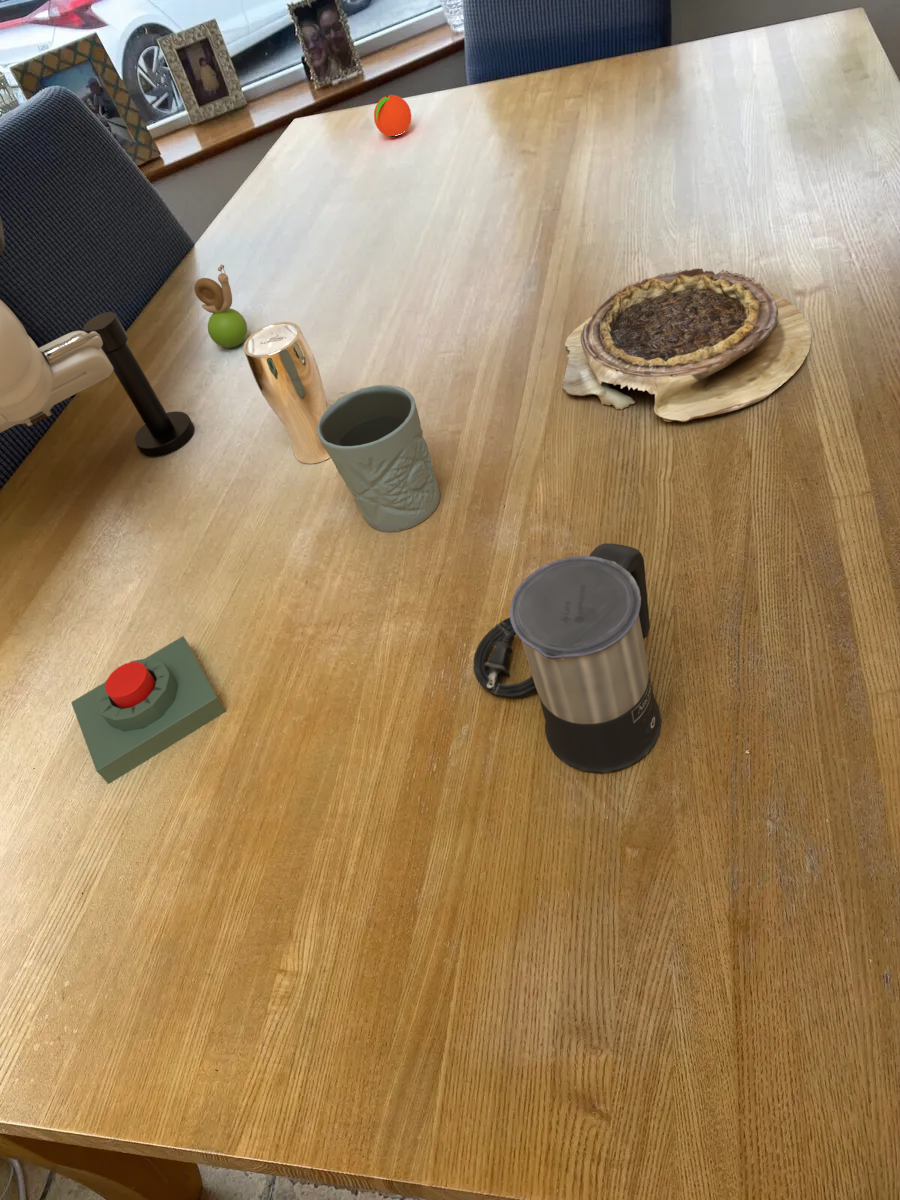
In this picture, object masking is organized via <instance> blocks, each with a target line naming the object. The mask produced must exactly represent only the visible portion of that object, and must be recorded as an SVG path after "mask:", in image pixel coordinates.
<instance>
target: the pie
mask: <svg viewBox="0 0 900 1200" xmlns="http://www.w3.org/2000/svg"><path fill="white" fill-rule="evenodd" d="M755 278H756V277H750V276H749V277H747V276H746V275H745V274H742V273H739V272H734V273H732V272H730V271H728V270H724V269H721V271H719V272H718V273H715V271H713V270H703V268H692V269H689V270H688V269H685V270H682V269H680V270H678V271H672V272H665V273H660V274H658V275H656V276H653V277H650V278H645V279H643V280H641V281H640V282H639V281H638V280H637V281H636V282H632V283H629V284H628V285H625V286H623V287H621V288H619V289H618V290H616V291H615V292H613V293H611V294H610V295H608V296H607V297H606V298H605V299H604V300H603V301H602V302H601V303H600V305H598V307H597V308H596V309H595V312H594V313H593V314H592V316H590V317H588V318H587V319H586V320H585V321H584V322H582V323H581V324H580V325H579V326H578V327H576V328H575V329H574V330H573V331H572V332H571V333H569V335H568V336H567V338H566V340H565V342H564V346H565V347H567V350H568V351H569V352H568V354H567V355H566V356H567V358H568V360H567V363H566V366H565V374H564V376H563V379H562V384H561V385H562V388H563V389H564V391H565V392H566V394H569V395H572V396H580V397H585V396H590V395H591V396H592V395H596V396H597V397H598V398H599V400H600V403H601V404H600V405H602V406H604V405H605V406H613V407H614V408H615V410H623V409H625V408H628V407H630V405H634V404H636V401H635V400H634V399H633V397H631V396H629V395H627V394H624V393H622V392H621V391H619V390H618V389H615V388H613V387H610V385H611V384H612V385H613V386H616V385H620V389H623V388H625V387H627V388H628V390H630V389H631V388H632V390H633V391H635V390H636V389H637V391H642V392H643V393H644V392H645V391H647V393H648V394H650V395H654V405H653V411H654V414H655V415H656V416H658V417H659V418H661V419H662V420H663V421H664V422H669V423H670V422H675V421H676V422H680V423H687V422H689V421H691V420H695V419H702V418H707V417H713V416H718V415H723V414H726V413H730V412H735V411H737V410H740V409H744V408H746V407H749V406H752V405H754V404H756V403H758V402H760V401H762V400H764V399H766V398H767V397H768V396H769V395H771V394H772V393H773V392H775V391H776V390H777V389H779V387H781V386H782V385H783V384H784V383H786V382H787V381H788V380H789V379H790V378H791V377H792V376H794V375H795V374H796V372H797V371H798V370H799V369H800V368H801V366H802V365H803V363H804V362H805V359H806V358H807V356H808V354H809V352H810V349H811V345H812V344H811V343H812V333H811V328H810V326H809V322H808V320H807V319H806V317H805V316H804V314H803V313H802V312H801V311H800V309H799V308H798V307H797V306H796V305H794V304H793V303H792V302H791V301H790V300H788V299H786V298H784V297H783V296H780V295H778V294H776V293H773V292H771V290H770V289H769V288H768V287H767V286H765V285H764V284H762V283H761V282H760V281H759V282H756V280H755ZM755 282H756V283H755ZM609 384H610V385H609Z"/></svg>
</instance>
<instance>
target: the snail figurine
mask: <svg viewBox="0 0 900 1200" xmlns="http://www.w3.org/2000/svg"><path fill="white" fill-rule="evenodd" d="M222 270H223V272H224V273H223V272H222ZM217 271H219V272H220V273H219V274H218V275H217V280H218V282H219V283H218V282H217V281H215V280H214V279H212V278H209V277H201V278H199V279H197V280H196V282H195V284H194V287H193V288H194V293H195V296H196V297H197V299H198V300H199V301H200V302H201V303H203V304H201V308H203V309H204V311H206V312H208V313H210V314H211V315H210V317H209V318H208V322H207V331H208V335H209V337H210V339H211V340H212V341H213V342H214V343H215V344H216V345H218V346H220V347H222V348H226V349H232V348H235V347H238V346H240V345H241V344H242V343H244V342H245V339H246V337H247V335H248V325H247V322H246V319H245V318H244V316H243V315H242V314H241V313H240V312H239V311H237V310H236V309H234V308H231V307H232V305H233V294H232V288H231V284H230V282H229V277H228V274H226V271H225V265H224V264H221V263H220V265H219V266H218V267H217Z"/></svg>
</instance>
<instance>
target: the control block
mask: <svg viewBox="0 0 900 1200" xmlns="http://www.w3.org/2000/svg"><path fill="white" fill-rule="evenodd" d="M130 662H139V663H141V664H143V665H144V666H145V667H146V668H147V670H148V671H149V672H150V674H151V675H152V676H153V678H154V680H155V687H154V690H153V691H152V692H151V693H150V695H149V696H148V697H147V698H146V699H145V700H144V701H142V702H140V703H139V704H137V705H135V706H134V707H130V708H122V707H119V706H117V705H116V704H115V702H114V701H113V700H112V699H111V698H110V696H109V695H108V694H107V693H106V690H105V684H106V681H107V679H106V680H105V681H104V682H103V683H100V684H99V685H98V686H95V687H94V688H93V689H91V690H89V691H87V692H85V693H84V694H82V695H80V696H79V697H77V698H76V699H74V700H72V701H71V702H70V703H71V706H72V709H73V711H74V714H75V717H76V719H77V722H78V723H77V724H78V725H79V728H80V731H81V733H82V735H83V738H84V741H85V745H86V747H87V750H88V752H89V755H90V758H91V760H92V764H93V766H94V769H95V771H96V772H97V773H98V775H100V777H101V778H102V779H103V780H104V781H105V782H106V783H107V784H108V785H109V784H111V783H113V782H114V781H116V780H118V779H120V778H121V777H123V776H125V775H127V774H128V773H130V772H131V771H132V770H134V769H136V768H137V767H139V766H140V765H142V764H144V763H146V762H147V761H148V760H150V759H152V758H153V757H155V756H157V755H158V754H160V753H162V752H163V751H165V750H166V749H169V748H170V747H171V746H173V745H174V744H176V743H178V742H179V741H181V740H183V739H185V738H186V737H187V736H189V735H191V734H192V733H194V732H196V731H198V730H199V729H200V728H202V727H204V726H205V725H208V724H209V723H210V722H212V721H214V720H215V719H217V718H218V717H220V716H221V715H223V714H225V713H226V712H227V710H226V707H225V705H224V703H223V702H222V700H221V698H220V696H219V695H218V693H217V691H216V689H215V687H214V686H213V684H212V682H211V680H210V678H209V677H208V675H207V673H206V671H205V668H204V667H203V665H202V663H201V662H200V660H199V658H198V656H197V654H196V653H195V651H194V649H193V648H192V646H191V645H190V643H189V642H188V641H187V639H186V637H185V636H184V635H182V636H180V637H178V638H177V639H175V640H174V641H172V642H170V643H168V644H166V645H165V646H164V647H162V648H160V649H159V650H157V651H155V652H153V653H152V654H151V655H148V656H147V657H145V658H141V659H136V660H131V661H129V662H128V663H130Z"/></svg>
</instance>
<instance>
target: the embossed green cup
mask: <svg viewBox="0 0 900 1200" xmlns="http://www.w3.org/2000/svg"><path fill="white" fill-rule="evenodd" d="M327 408H328V409H327V410H326V411H325V412H324V414H323V415H322V416H321V418H320V420H319V423H318V426H317V432H318V437H319V439H320V441H321V442H322V444H323V446H324V448H325V449H326V451H327V453H328V454H329V456H330V457H331V458H330V459H331V460H332V463H333V464H334V466H335V468H336V470H337V472H338V473H339V474H340V476H341V478H342V481H343V482H344V483H345V486H346V487H347V489H348V490H349V492H350V493H351V495H352V496H353V497H354V503H355V505H356V507H357V508H358V510H359V512H360V513H361V515H362V518H363V519H364V520H365V522H366V523H367V524H368V525H369V526H370V527H371V528H373V529H374V530H377V531H380V532H383V533H395V532H396V533H398V532H402V531H406V530H409V529H413V528H414V527H416V526H418V525H420V524H421V523H423V522H424V521H426V520H427V519H429V518H430V517H431V516H432V515H433V514H434V513H435V511H436V510H437V508H438V506H439V504H440V500H441V493H440V487H439V484H438V483H439V482H438V480H437V477H436V472H435V470H434V467H433V464H432V461H433V460H432V458H431V455H430V450H429V447H428V443H427V441H426V439H425V438H424V436H423V434H424V433H423V429H422V427H421V424H422V423H421V419H420V415H419V412H418V408H417V404H416V400H415V397H414V396H413V395H412V393H411V392H410V391H408V390H407V389H406V388H404V387H401V386H396V385H391V384H390V385H389V384H375V385H370V386H366V387H363V388H360V389H357V390H355V391H352V392H349V393H347V394H345V395H344V396H342V397H340V398H339V399H337V400H336V401H335V402H333V403H332V404H331V405H329V407H327Z"/></svg>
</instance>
